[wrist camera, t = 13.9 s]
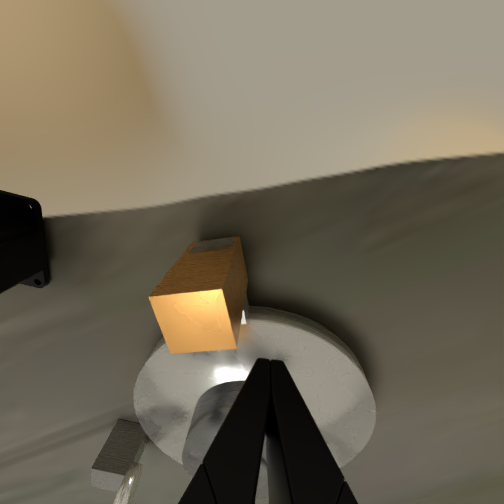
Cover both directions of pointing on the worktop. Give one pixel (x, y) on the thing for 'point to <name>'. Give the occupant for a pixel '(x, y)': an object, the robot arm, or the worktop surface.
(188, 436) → the cover
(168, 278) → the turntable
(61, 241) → the worktop surface
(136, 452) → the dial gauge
